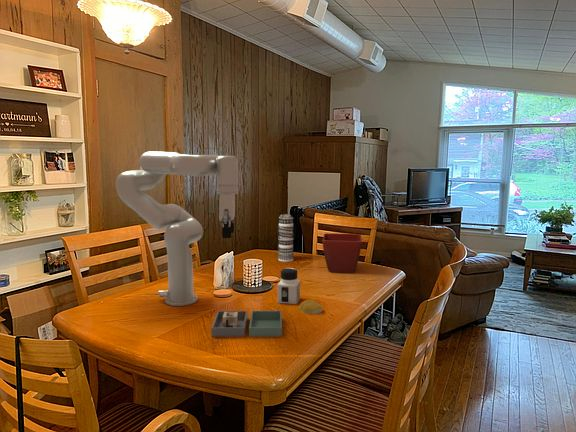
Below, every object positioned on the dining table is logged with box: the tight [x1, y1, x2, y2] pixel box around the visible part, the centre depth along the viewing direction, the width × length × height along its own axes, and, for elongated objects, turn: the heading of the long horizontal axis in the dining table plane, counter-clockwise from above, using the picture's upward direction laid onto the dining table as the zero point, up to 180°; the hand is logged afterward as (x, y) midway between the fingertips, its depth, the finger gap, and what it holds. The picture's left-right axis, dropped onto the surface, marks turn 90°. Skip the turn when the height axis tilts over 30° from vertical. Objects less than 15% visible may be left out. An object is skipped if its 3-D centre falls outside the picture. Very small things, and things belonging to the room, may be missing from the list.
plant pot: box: [321, 232, 363, 274], centre depth 221 cm, size 19×19×17 cm
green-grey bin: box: [248, 310, 283, 338], centre depth 147 cm, size 10×15×4 cm
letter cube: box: [223, 312, 238, 327], centre depth 147 cm, size 4×5×5 cm
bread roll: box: [299, 299, 323, 315], centre depth 164 cm, size 8×9×4 cm
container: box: [277, 267, 301, 305], centre depth 175 cm, size 8×8×13 cm
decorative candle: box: [277, 213, 295, 263], centre depth 239 cm, size 9×9×25 cm
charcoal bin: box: [210, 310, 249, 338], centre depth 147 cm, size 10×15×4 cm
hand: (228, 235), depth 163 cm, fingers open, 9 cm apart
